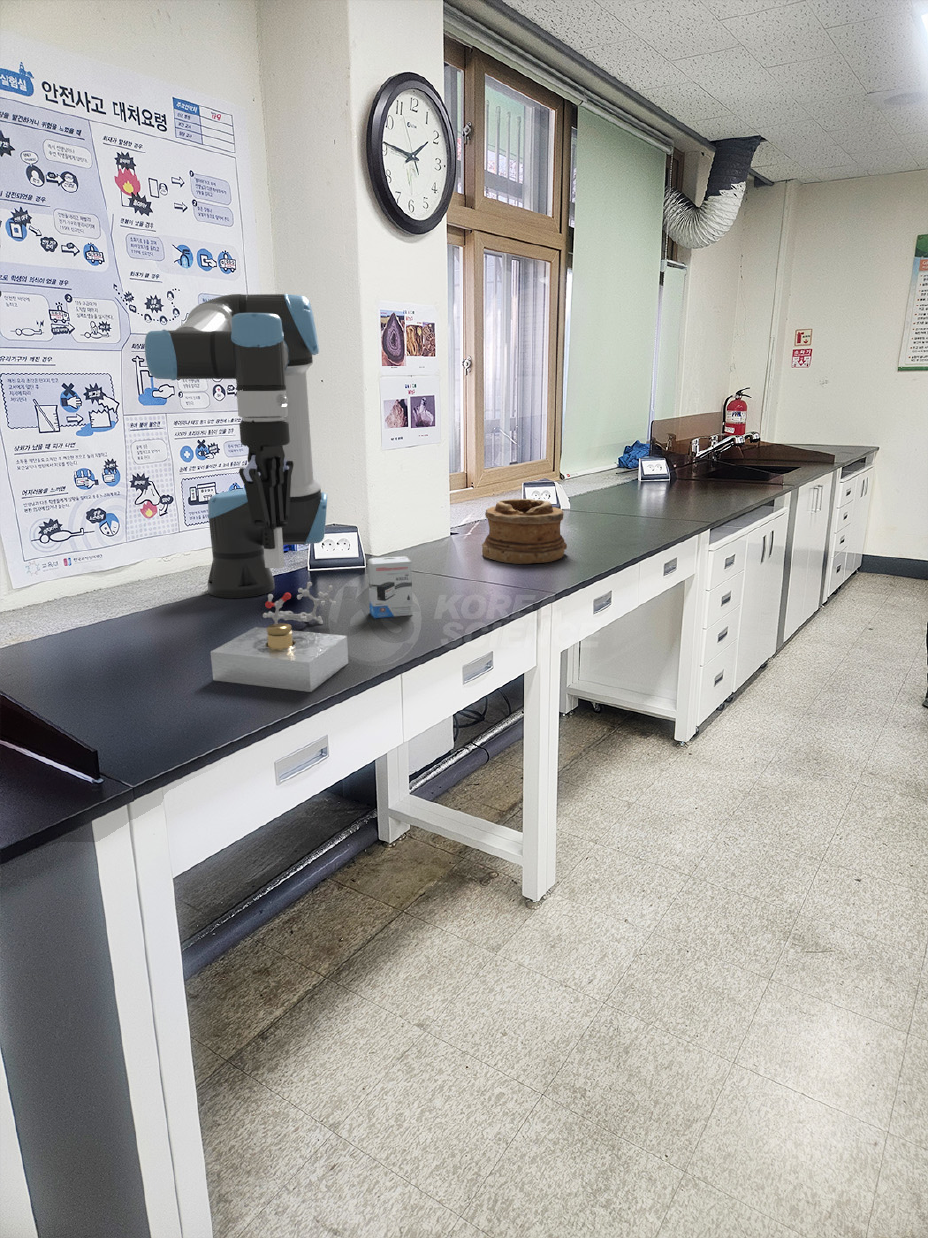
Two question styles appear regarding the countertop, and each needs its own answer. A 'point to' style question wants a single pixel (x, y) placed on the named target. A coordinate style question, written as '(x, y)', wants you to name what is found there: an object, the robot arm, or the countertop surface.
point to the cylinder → (279, 636)
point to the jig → (280, 660)
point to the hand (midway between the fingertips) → (274, 566)
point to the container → (524, 532)
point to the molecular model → (302, 616)
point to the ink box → (390, 587)
